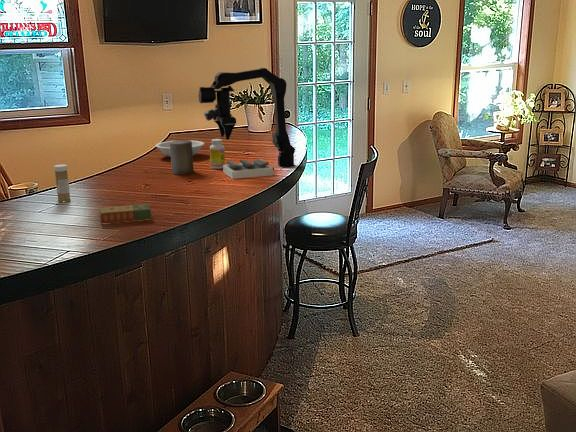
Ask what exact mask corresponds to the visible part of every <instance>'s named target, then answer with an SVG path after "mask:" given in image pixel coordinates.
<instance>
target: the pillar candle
mask: <svg viewBox="0 0 576 432" xmlns="http://www.w3.org/2000/svg"><path fill="white" fill-rule="evenodd" d="M171 141H172V142H170V153H171V157H170V166H171V172H172V174H173V175H179V176H180V175H188V174H193V173H194V172H195V171H194V159H193V157H194V155H193V153H192V141H190V139H189V140H188V139H186V140H183V139H180V140H179V139H178V140H171Z"/></svg>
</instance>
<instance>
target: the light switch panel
mask: <svg viewBox="0 0 576 432" xmlns="http://www.w3.org/2000/svg"><path fill="white" fill-rule="evenodd" d="M252 163H253V162H252ZM239 164H240V165H241V166H242V169H236V168H233V167H231V166H230V165H228V164H225V165H223V168H222V171H223V173H224V174H225V175H227V176H228V177H229V178H231V179H232V180H235V179H244V178H246V179H247V178H257V177H258V178H259V177H268V176H274V171H275V167H271V166H270V165H266V167H259V166H257V165H256V164H255V165H256V167H255V168H253V167H252V168H249V167H246V166H245V165H243V164H242V163H239ZM253 164H254V163H253Z"/></svg>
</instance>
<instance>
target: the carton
mask: <svg viewBox="0 0 576 432" xmlns="http://www.w3.org/2000/svg"><path fill="white" fill-rule="evenodd" d="M99 214H100V215H99V217H100V223H114V222H124V221H133V220H145V219H152V220H153V217H152V209H151V208H150V205H149V203H143V204H131V205H130V204H129V205H120V206H119V205H118V206H108V207H99Z"/></svg>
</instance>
